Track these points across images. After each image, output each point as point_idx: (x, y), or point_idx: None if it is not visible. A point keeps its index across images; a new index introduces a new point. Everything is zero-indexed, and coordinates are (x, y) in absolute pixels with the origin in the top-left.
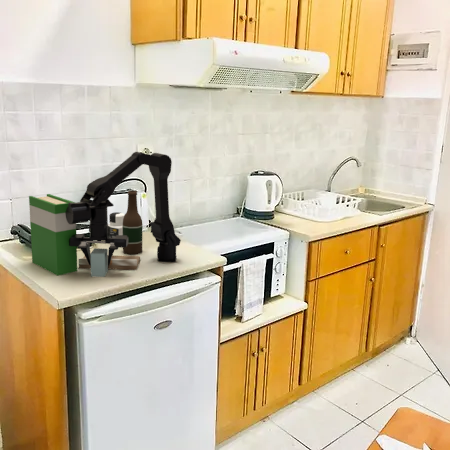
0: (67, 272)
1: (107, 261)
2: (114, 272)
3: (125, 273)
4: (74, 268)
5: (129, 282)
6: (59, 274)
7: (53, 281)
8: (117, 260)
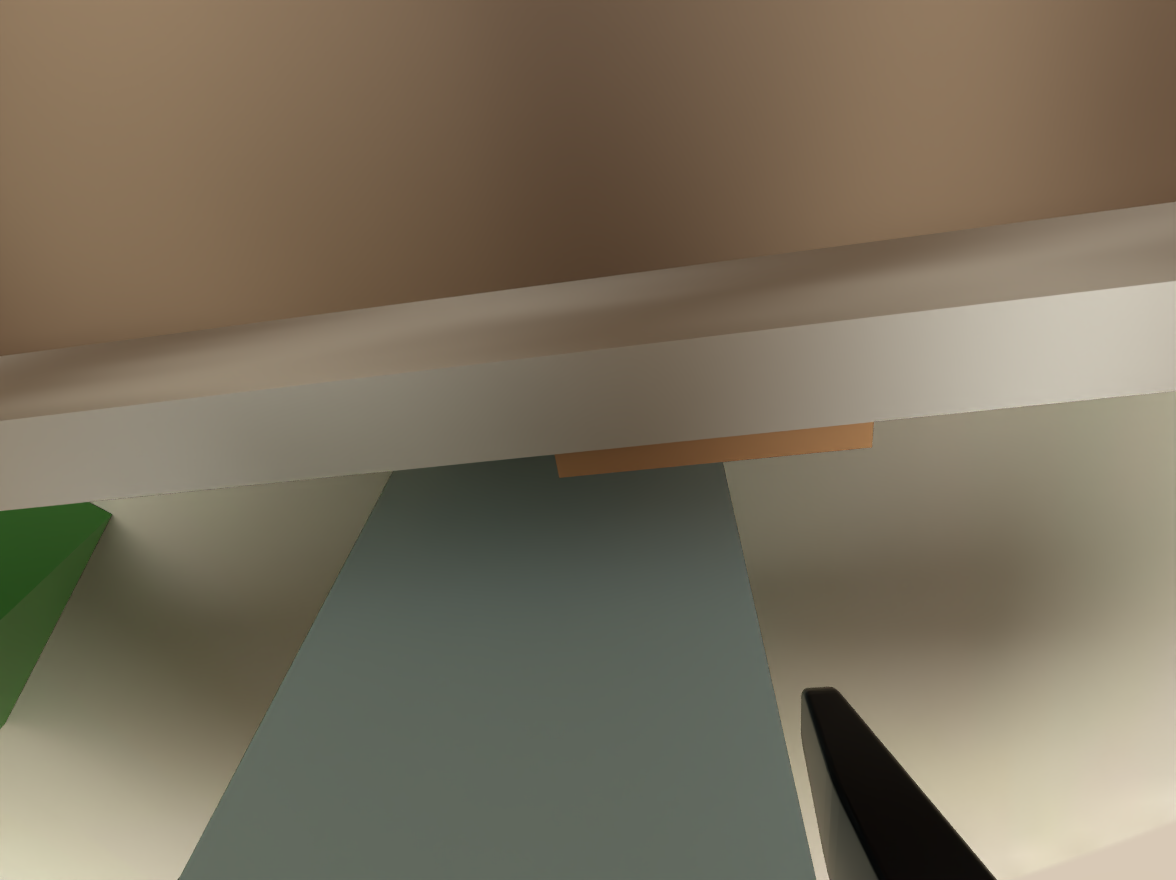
0: (39, 641)
1: (745, 585)
2: (881, 470)
3: (1139, 485)
4: (47, 599)
5: (1161, 803)
6: (3, 716)
7: (131, 858)
8: (1093, 391)
